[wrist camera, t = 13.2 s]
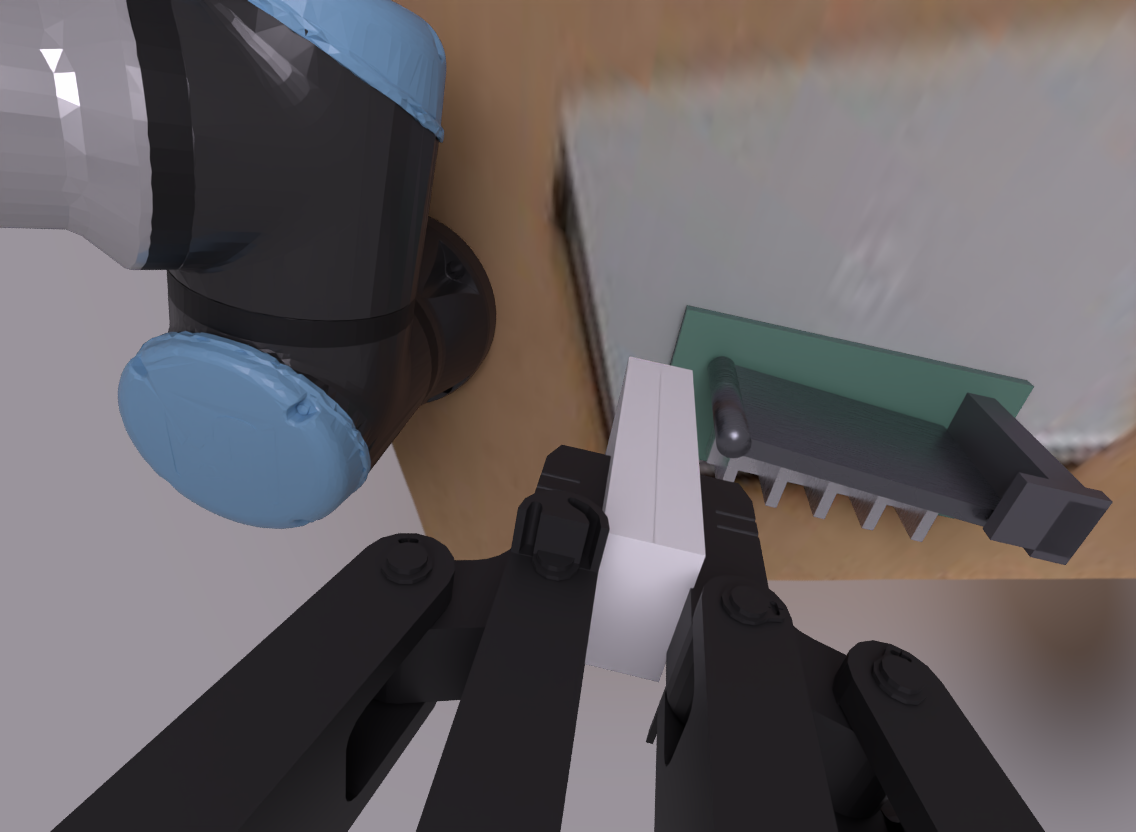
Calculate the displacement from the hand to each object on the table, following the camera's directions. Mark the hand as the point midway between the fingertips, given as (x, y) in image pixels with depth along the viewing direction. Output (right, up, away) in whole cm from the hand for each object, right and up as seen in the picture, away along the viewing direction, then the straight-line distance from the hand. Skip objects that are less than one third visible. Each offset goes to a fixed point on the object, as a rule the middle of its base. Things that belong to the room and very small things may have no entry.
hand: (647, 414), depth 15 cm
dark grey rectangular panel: (+17, +1, +31) cm, 35 cm away
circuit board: (+18, 0, +34) cm, 38 cm away
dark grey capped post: (+26, 0, +31) cm, 41 cm away
